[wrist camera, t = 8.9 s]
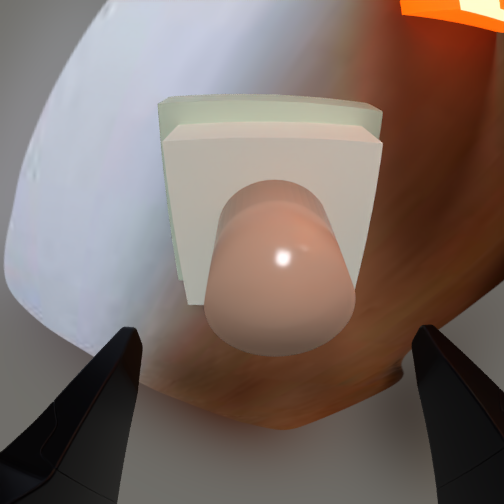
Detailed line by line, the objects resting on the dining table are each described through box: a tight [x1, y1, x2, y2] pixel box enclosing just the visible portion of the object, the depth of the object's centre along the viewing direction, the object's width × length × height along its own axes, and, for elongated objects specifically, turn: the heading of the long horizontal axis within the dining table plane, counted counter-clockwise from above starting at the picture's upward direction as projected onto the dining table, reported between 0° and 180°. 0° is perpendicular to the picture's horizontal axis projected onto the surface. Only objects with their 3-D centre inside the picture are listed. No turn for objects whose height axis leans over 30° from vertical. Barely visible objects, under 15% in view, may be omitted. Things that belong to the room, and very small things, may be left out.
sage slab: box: [158, 94, 383, 280], centre depth 18 cm, size 11×11×3 cm
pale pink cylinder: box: [204, 180, 355, 356], centre depth 12 cm, size 5×5×5 cm
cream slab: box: [162, 122, 383, 305], centre depth 16 cm, size 9×9×3 cm
